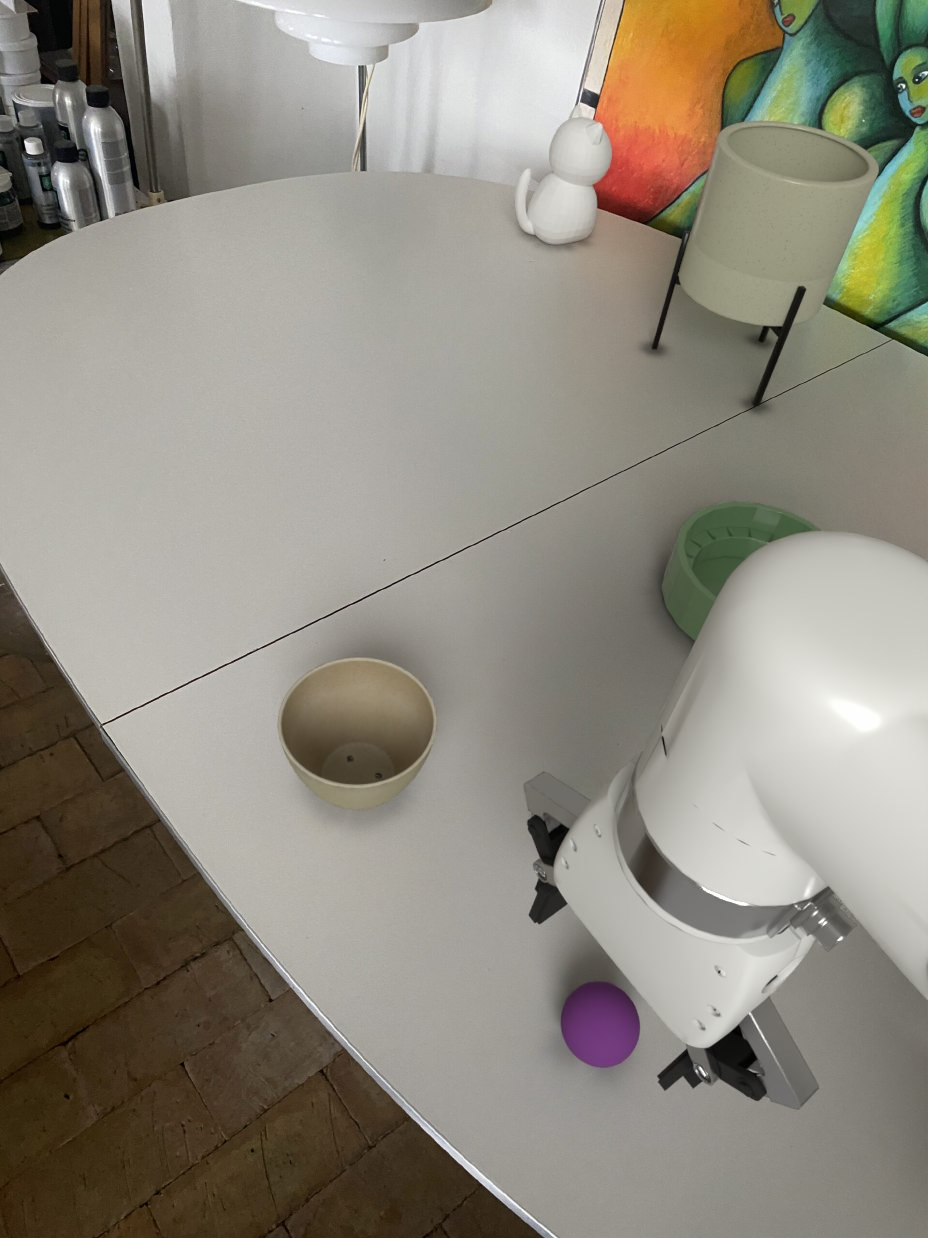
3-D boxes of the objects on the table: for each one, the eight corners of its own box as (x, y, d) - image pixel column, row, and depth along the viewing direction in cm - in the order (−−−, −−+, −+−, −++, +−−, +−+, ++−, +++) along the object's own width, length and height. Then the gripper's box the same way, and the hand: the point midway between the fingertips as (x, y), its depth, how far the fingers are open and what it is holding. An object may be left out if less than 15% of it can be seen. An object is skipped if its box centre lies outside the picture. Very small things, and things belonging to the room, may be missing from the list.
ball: (645, 1045, 50) (665, 1021, 47) (589, 1094, 48) (606, 1073, 45) (594, 981, 53) (610, 954, 49) (539, 1025, 51) (551, 1001, 47)
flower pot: (440, 834, 58) (448, 778, 53) (287, 851, 56) (279, 795, 51) (420, 711, 64) (426, 650, 59) (283, 723, 63) (275, 661, 57)
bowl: (860, 624, 74) (889, 580, 70) (752, 699, 68) (776, 655, 64) (735, 527, 81) (755, 481, 77) (626, 586, 75) (641, 540, 71)
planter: (659, 315, 106) (717, 107, 88) (791, 344, 104) (876, 137, 86) (642, 382, 96) (704, 162, 78) (787, 416, 94) (883, 198, 77)
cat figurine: (609, 246, 116) (635, 125, 105) (525, 256, 113) (543, 132, 101) (578, 216, 122) (600, 98, 110) (497, 225, 118) (511, 103, 107)
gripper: (986, 966, 29) (790, 1087, 42) (633, 629, 38) (559, 817, 51) (853, 1113, 26) (684, 1195, 39) (497, 707, 34) (456, 887, 47)
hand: (614, 981), depth 45 cm, fingers open, 9 cm apart
